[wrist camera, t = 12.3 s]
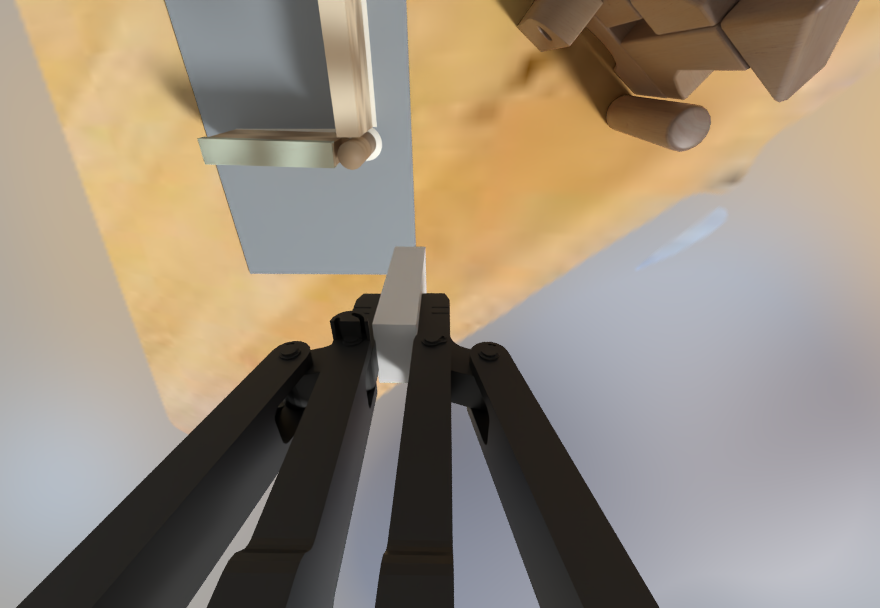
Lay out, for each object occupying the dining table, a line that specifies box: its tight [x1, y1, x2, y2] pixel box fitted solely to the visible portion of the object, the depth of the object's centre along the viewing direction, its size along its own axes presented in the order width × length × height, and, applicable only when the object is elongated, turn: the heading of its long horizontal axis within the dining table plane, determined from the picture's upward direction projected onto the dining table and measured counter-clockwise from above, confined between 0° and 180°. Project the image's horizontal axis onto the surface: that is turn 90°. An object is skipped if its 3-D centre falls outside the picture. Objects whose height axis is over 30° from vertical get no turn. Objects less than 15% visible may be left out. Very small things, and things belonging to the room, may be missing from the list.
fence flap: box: [198, 129, 349, 168], centre depth 36 cm, size 12×2×7 cm, turn 88°
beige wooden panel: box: [318, 0, 376, 170], centre depth 33 cm, size 17×2×8 cm, turn 0°
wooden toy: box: [517, 0, 859, 152], centre depth 25 cm, size 15×7×25 cm, turn 53°
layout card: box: [165, 0, 416, 274], centre depth 40 cm, size 32×22×1 cm
